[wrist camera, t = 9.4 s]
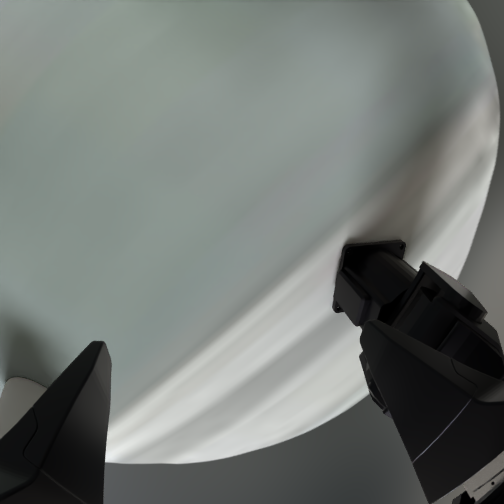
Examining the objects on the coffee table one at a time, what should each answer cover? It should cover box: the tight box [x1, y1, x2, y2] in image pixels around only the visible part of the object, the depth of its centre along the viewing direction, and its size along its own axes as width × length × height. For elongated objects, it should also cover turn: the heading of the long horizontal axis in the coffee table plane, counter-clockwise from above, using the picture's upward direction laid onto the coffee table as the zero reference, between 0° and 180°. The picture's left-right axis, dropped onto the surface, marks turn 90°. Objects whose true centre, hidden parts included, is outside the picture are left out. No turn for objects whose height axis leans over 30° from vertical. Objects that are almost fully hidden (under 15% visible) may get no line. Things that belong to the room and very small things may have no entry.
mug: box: [0, 377, 47, 439], centre depth 20 cm, size 12×8×11 cm
